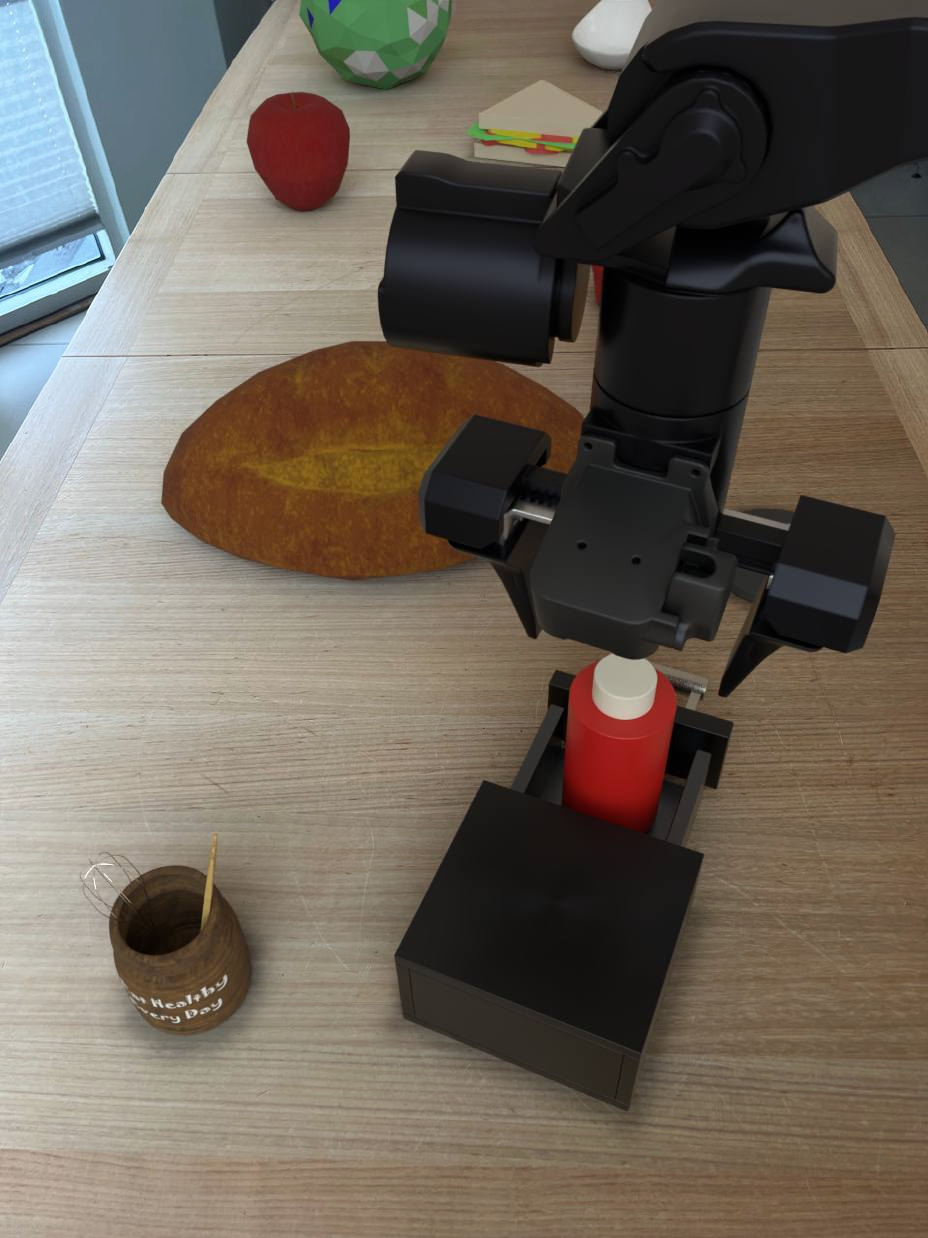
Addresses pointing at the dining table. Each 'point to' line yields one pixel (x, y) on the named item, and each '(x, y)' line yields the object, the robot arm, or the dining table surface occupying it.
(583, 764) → the ketchup bottle
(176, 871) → the utensil holder
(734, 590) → the disc
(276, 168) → the apple
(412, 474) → the bread
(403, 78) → the decorative sphere
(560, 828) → the cabinet
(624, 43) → the spoon rest
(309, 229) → the dining table surface
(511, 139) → the sandwich
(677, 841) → the drawer
